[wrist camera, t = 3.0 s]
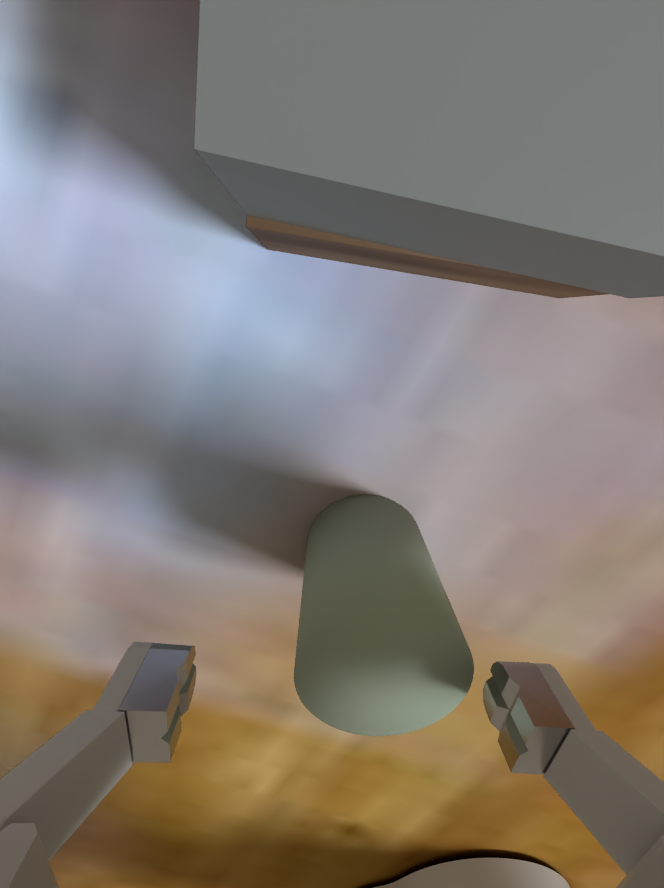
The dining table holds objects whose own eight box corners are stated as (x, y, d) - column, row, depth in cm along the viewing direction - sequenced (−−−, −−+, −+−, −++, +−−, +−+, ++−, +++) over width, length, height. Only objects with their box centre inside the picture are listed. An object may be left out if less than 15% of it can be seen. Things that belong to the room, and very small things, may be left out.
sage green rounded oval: (406, 595, 16) (447, 742, 11) (301, 583, 16) (285, 728, 10) (432, 502, 15) (497, 619, 9) (314, 487, 14) (304, 598, 9)
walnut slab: (550, 298, 12) (632, 291, 9) (269, 252, 12) (246, 226, 8) (692, -120, 9) (906, -377, 6) (304, -215, 8) (287, -564, 5)
